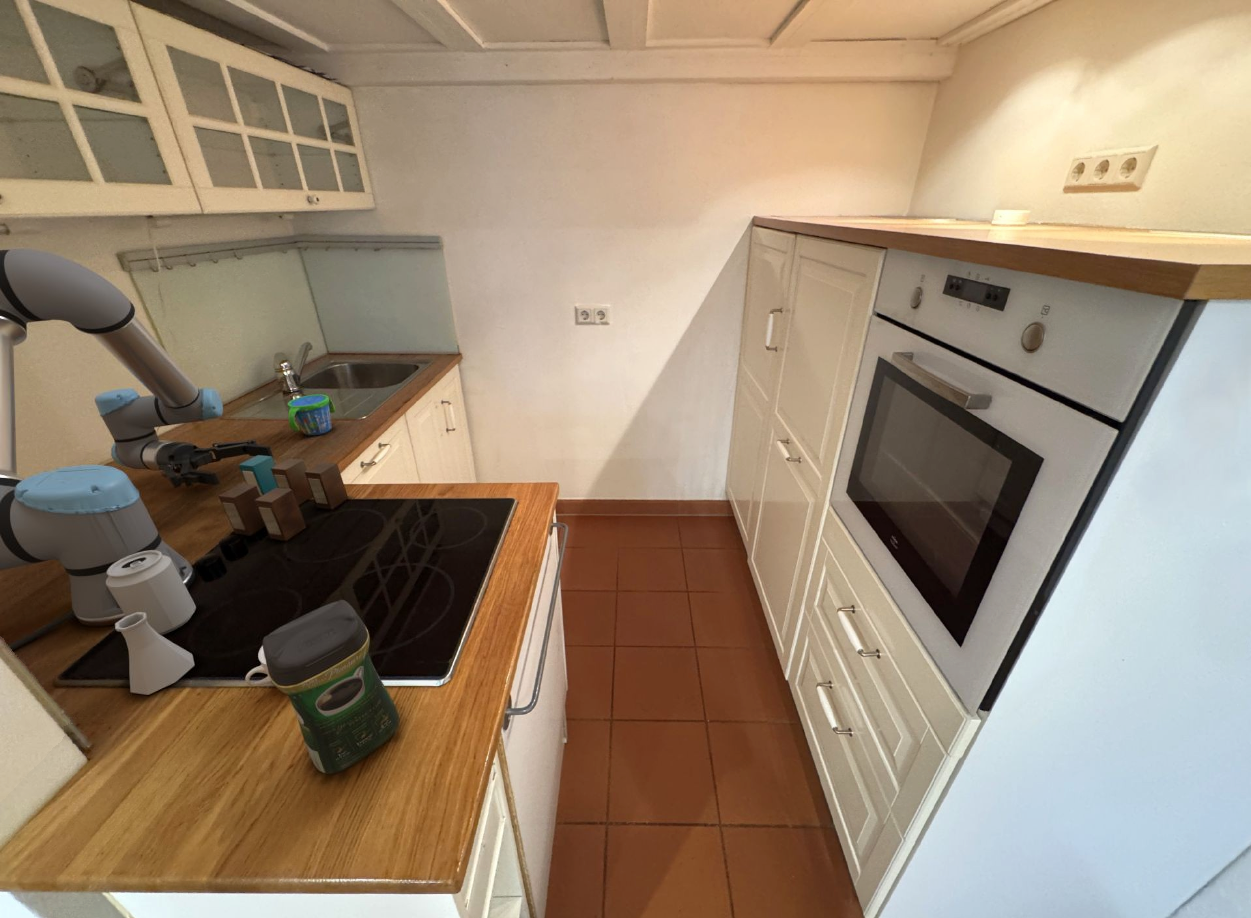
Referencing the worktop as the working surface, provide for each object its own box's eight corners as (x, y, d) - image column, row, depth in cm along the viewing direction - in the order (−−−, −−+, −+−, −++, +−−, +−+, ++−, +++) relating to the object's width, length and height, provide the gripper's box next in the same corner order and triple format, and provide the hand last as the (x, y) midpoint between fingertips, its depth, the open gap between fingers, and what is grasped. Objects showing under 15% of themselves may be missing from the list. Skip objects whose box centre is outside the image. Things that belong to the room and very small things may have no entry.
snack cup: (309, 443, 143) (298, 410, 138) (282, 440, 146) (270, 407, 141) (352, 423, 156) (342, 392, 152) (325, 421, 159) (316, 390, 155)
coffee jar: (383, 693, 66) (345, 583, 58) (409, 731, 61) (370, 617, 53) (303, 743, 60) (247, 628, 52) (323, 790, 55) (265, 671, 47)
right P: (331, 510, 109) (318, 473, 105) (316, 508, 110) (303, 472, 106) (348, 498, 114) (337, 463, 110) (333, 496, 115) (322, 461, 111)
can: (189, 599, 84) (157, 541, 79) (205, 617, 80) (173, 556, 75) (131, 626, 79) (93, 566, 74) (146, 647, 75) (107, 584, 70)
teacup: (323, 640, 75) (312, 613, 73) (345, 666, 70) (334, 638, 68) (246, 684, 68) (231, 655, 66) (264, 716, 64) (249, 686, 61)
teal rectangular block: (266, 501, 114) (251, 466, 110) (252, 499, 115) (237, 464, 111) (285, 490, 118) (271, 456, 114) (271, 488, 119) (258, 454, 115)
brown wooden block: (285, 541, 99) (269, 502, 95) (269, 539, 100) (253, 500, 96) (306, 527, 103) (292, 489, 99) (290, 525, 104) (276, 487, 100)
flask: (119, 683, 69) (82, 629, 65) (180, 647, 75) (150, 595, 70) (144, 704, 66) (107, 648, 62) (205, 664, 72) (176, 611, 67)
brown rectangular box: (297, 505, 111) (284, 470, 107) (283, 504, 112) (269, 468, 108) (316, 494, 116) (303, 459, 112) (301, 492, 117) (289, 458, 113)
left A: (249, 536, 101) (232, 498, 97) (234, 534, 102) (216, 496, 98) (271, 522, 106) (256, 485, 102) (256, 520, 106) (240, 483, 102)
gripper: (229, 449, 131) (294, 456, 126) (123, 496, 110) (196, 506, 105) (218, 423, 128) (284, 428, 123) (106, 466, 106) (181, 475, 101)
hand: (244, 464), depth 114 cm, fingers open, 13 cm apart
